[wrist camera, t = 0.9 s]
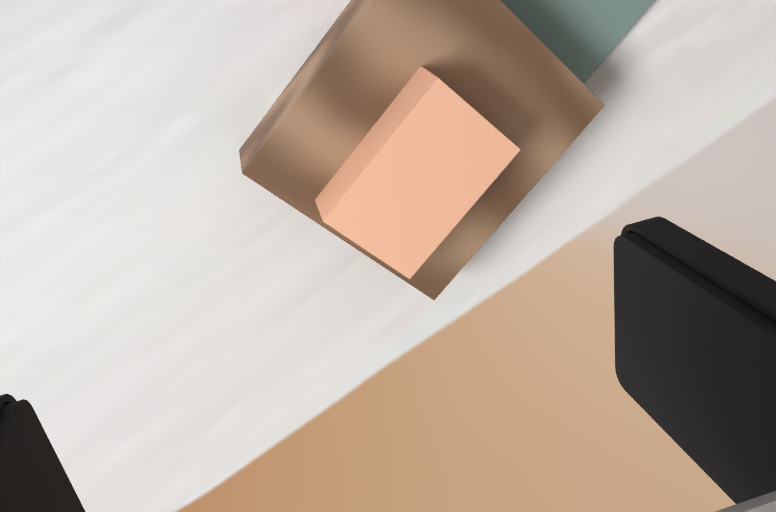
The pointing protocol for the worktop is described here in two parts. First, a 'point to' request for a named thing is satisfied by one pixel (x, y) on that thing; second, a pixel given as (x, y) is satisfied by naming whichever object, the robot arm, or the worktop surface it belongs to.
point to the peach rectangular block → (415, 174)
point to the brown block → (386, 80)
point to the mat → (579, 27)
